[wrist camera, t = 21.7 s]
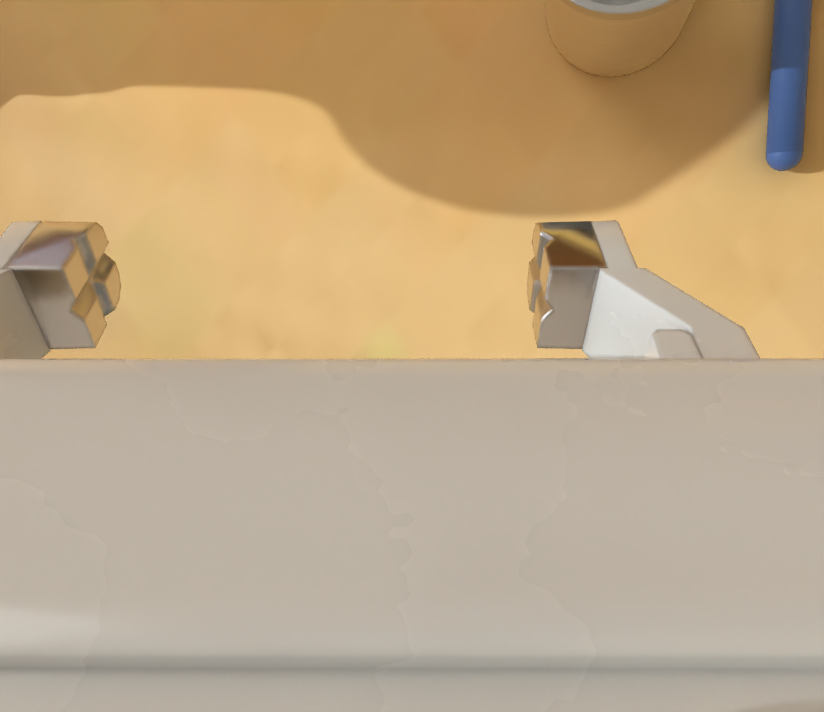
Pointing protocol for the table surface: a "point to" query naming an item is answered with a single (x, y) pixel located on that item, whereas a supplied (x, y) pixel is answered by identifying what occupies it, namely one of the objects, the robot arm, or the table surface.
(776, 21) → the spoon
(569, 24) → the pot
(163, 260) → the table surface
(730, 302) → the table surface
